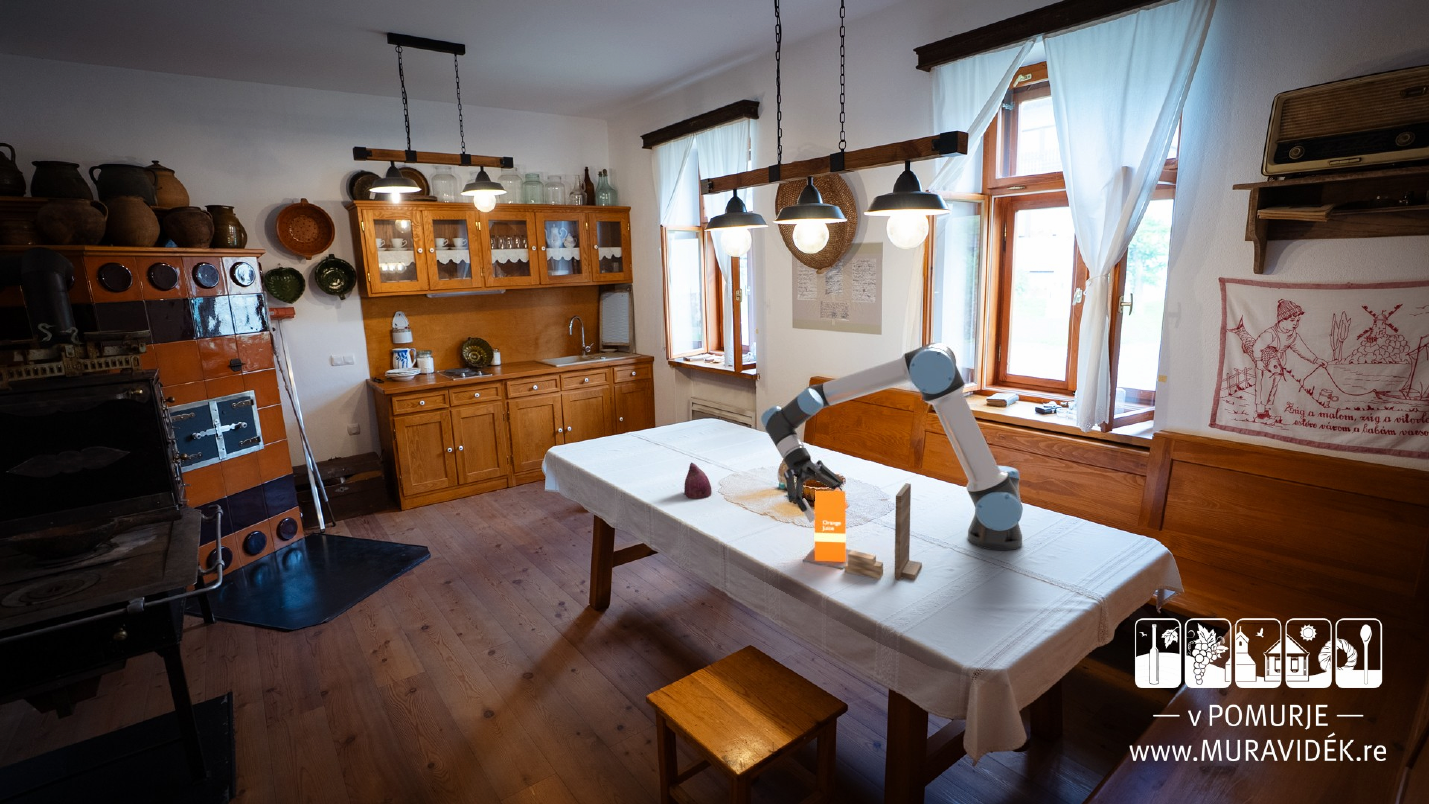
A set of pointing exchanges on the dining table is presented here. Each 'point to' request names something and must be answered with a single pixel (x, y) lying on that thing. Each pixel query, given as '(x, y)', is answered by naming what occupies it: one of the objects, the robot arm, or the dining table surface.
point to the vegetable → (696, 483)
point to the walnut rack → (903, 566)
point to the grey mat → (835, 564)
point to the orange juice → (830, 526)
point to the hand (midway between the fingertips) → (830, 514)
